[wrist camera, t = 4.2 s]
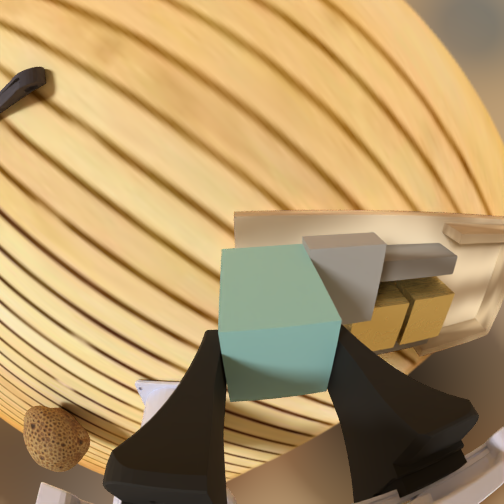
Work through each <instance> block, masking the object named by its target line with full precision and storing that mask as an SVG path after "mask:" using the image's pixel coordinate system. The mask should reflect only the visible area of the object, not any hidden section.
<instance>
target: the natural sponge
mask: <svg viewBox="0 0 504 504" xmlns="http://www.w3.org/2000/svg"><path fill="white" fill-rule="evenodd" d="M23 434H24V441H25V445H26V447H27V449H28V451H29V453H30V455H31V456H32V458H33V459H34V460H35V461H36V462H37V463H38V464H39V465H40V466H42V467H44V468H47V469H49V470H51V471H56V472H62V471H67V470H69V469H71V468H72V467H74V466H75V465H76V464H77V463H78V462H79V461H80V460H81V459H82V457H83V456H84V455H85V454H86V452H87V451H88V449H89V445H90V437H89V435H88V433H87V432H86V430H85V429H84V428H83V427H82V426H81V425H80V424H79V423H78V422H77V420H76V419H75V418H74V417H73V416H72V415H71V414H70V413H69V412H68V411H66V410H64V409H62V408H48V407H45V406H34V407H32V408H30V409H29V410H28V411H27V412H26V414H25V417H24V433H23Z"/></svg>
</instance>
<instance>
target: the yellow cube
mask: <svg viewBox="0 0 504 504" xmlns="http://www.w3.org/2000/svg"><path fill="white" fill-rule="evenodd" d="M392 282H393V284H394V285H395V286H396V287H397V288H398V290H399V291H400V292H401V293H402V294H403V296H404V297H405V298H406V299H407V301H408V302H409V306H408V309H407V312H406V315H405V318H404V321H403V324H402V326H401V329H400V332H399V334H398V337H397V339H396V341H397V342H398V344H399V345H402V344H407V343H411V342H416V341H420V340H424V339H428V338H432V337H436V336H438V335H439V333H440V330H441V328H442V326H443V323H444V321H445V318H446V316H447V313H448V311H449V308H450V306H451V303H452V300H453V298H454V295H455V293H454V292H453V291H452V290H451V289H450V288H448V287H447V286H446V285H445V284H444V283H443V282H442V281H441V280H440V279H439V278H438V277H437V276H432V277H424V278H415V279H405V280H396V281H392Z"/></svg>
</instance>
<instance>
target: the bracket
mask: <svg viewBox="0 0 504 504" xmlns="http://www.w3.org/2000/svg"><path fill="white" fill-rule="evenodd" d="M45 83H46V81H45V70H44V68H43V67H34V68H30V69H26V70H24V71H22V72H20V73H18V74H17V75H15V76H14V78H13V79H12V80H11V81H10V82H9V83H8V84H7V85H6V86H5V87H4V88H3V89H2V90H1V91H0V113H2V112H3V111H4V110H6V109H7V108H8V107H10V106H11V105H13V104H14V103H16V102H17V101H19V100H20V99H22V98H23V97H25V96H26V95H28V94H29V93H31V92H32V91H34V90H35V89H37V88H39V87H40V86H42V85H44V84H45Z"/></svg>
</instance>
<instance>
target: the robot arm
mask: <svg viewBox="0 0 504 504" xmlns="http://www.w3.org/2000/svg"><path fill="white" fill-rule="evenodd" d="M135 386H136V388H137V390H138V392H139V395H140V397H141V399H142V401H143V403H144V405H145V409H144V414H143V419H142V424H141V428H140V429H139V430H138V431H137V432H136V433H135V434H133V435H132V436H131V437H130V438H128V439H127V440H126V441H124V442H123V443H122V444H120V445H119V446H118V447H116V448H115V449H114V450H112V452H111V455H110V457H109V460H108V462H107V465H106V470H105V474H104V479H103V486H104V487H105V489H106V490H107V491H109V492H110V493H111V494H113V495H114V501H113V504H237V503H236V500H235V497H234V496H233V494H232V493H231V492H230V490H229V489H228V488H227V487H226V478H225V462H224V442H223V430H224V415H225V401H226V387H227V382H226V376H225V370H224V365H223V359H222V353H221V347H220V341H219V335H218V330H207V331H206V332H205V334H204V337H203V340H202V342H201V345H200V347H199V349H198V351H197V353H196V355H195V357H194V359H193V361H192V363H191V365H190V367H189V369H188V370H187V372H186V374H185V375H184V377H183V378H182V380H181V382H164V381H145V380H137V381H136V382H135ZM327 389H328V392H329V394H330V397H331V399H332V402H333V405H334V407H335V410H336V412H337V415H338V418H339V421H340V424H341V428H342V432H343V435H344V440H345V445H346V449H347V454H348V459H349V465H350V472H351V478H352V486H353V496H354V504H402V503H405V502H407V501H409V500H411V499H412V500H411V501H410V502H408V503H406V504H479V503H480V502H482V501H483V500H484V499H485V498H487V497H488V496H489V495H490V494H491V493H493V492H494V491H495V490H496V489H497V488H499V487H500V486H501V485H502V484H503V483H504V426H503V427H502V428H500V429H499V430H498V431H496V432H495V433H494V434H493V435H492V436H491V437H490V438H489V439H488V440H487V441H486V443H484V444H483V445H481V446H480V447H478V448H477V449H475V450H473V451H472V452H470V453H469V454H467V455H465V456H464V455H463V453H462V451H461V449H462V448H463V446H464V444H463V443H462V441H461V439H462V438H463V437H464V436H465V435H466V434H467V433H468V432H469V431H470V430H471V429H472V428H473V426H474V425H475V424H476V422H477V420H478V418H479V415H478V413H477V412H476V410H475V409H474V407H473V405H472V404H471V402H470V401H469V400H467V399H463V398H459V397H456V396H453V395H449V394H446V393H443V392H440V391H438V390H435V389H433V388H431V387H428V386H426V385H424V384H422V383H420V382H418V381H416V380H414V379H412V378H410V377H409V376H407V375H405V374H404V373H402V372H400V371H399V370H397V369H396V368H394V367H393V366H391V365H390V364H388V363H387V362H386V361H384V360H383V359H382V358H380V357H379V356H378V355H376V354H375V353H374V352H373V351H371V350H370V349H369V348H368V347H367V346H365V345H364V344H363V343H362V342H361V341H360V340H359V339H357V338H356V337H355V336H354V335H353V334H352V333H351V332H350V331H349V330H348V329H346V328H345V327H344V326H343V325H342V324H341V327H340V332H339V337H338V342H337V347H336V352H335V356H334V361H333V365H332V370H331V374H330V378H329V382H328V386H327ZM36 504H93V503H90V502H86V501H83V500H80V499H79V498H78V497H76V496H75V495H73V494H71V493H69V492H67V491H65V490H62V489H59V488H57V487H54V486H52V485H49V484H47V483H44V482H42V483H41V485H40V489H39V493H38V497H37V501H36Z"/></svg>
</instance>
